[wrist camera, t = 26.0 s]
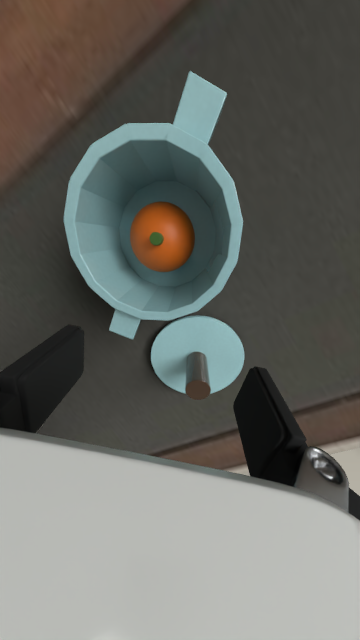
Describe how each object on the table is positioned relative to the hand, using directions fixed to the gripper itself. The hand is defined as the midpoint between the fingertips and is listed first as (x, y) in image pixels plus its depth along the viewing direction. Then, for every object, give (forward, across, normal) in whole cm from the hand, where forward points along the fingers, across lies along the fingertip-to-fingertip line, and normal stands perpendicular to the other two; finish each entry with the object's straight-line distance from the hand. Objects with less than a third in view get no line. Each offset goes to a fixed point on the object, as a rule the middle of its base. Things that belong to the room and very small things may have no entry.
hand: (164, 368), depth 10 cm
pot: (+16, +3, -6) cm, 17 cm away
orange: (+15, +3, -6) cm, 17 cm away
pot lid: (+15, -5, +9) cm, 18 cm away
